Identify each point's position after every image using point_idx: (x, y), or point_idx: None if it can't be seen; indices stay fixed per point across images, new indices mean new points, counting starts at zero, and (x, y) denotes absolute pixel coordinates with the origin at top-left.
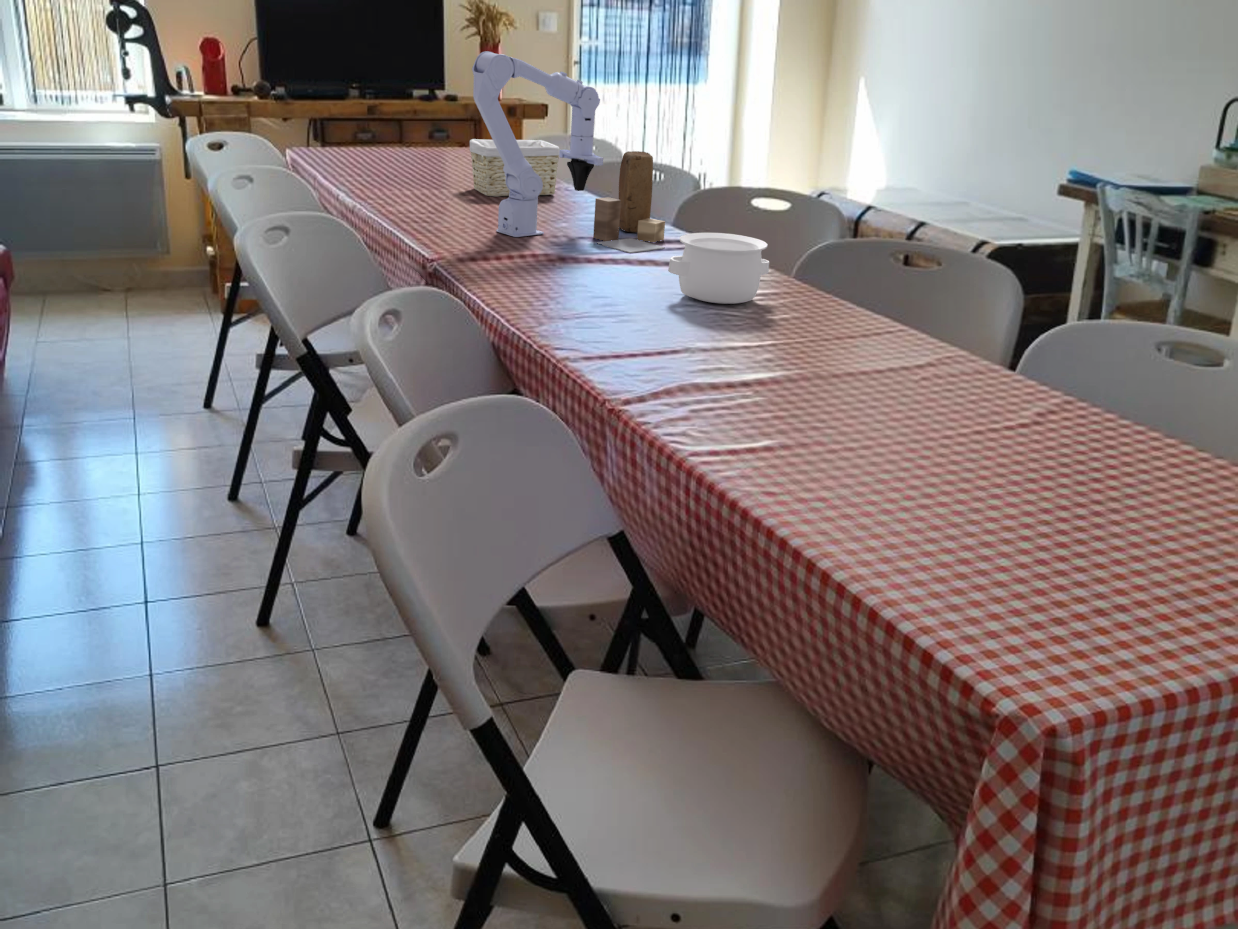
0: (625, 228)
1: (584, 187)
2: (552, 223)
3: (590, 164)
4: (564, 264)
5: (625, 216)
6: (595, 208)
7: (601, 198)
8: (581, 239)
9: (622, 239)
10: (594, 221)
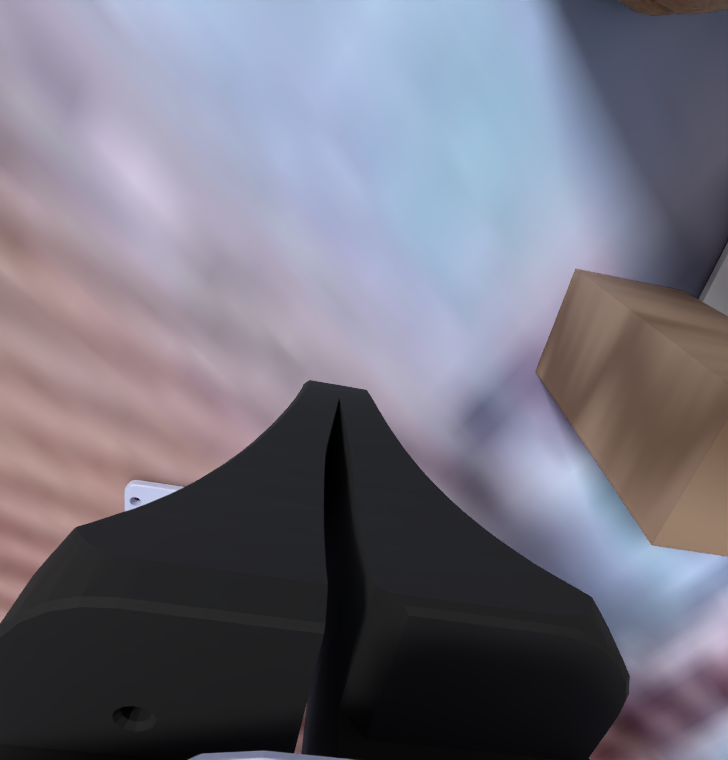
0: (651, 15)
1: (375, 405)
2: (61, 212)
3: (581, 758)
4: (667, 756)
5: (708, 11)
6: (615, 483)
7: (701, 507)
8: (502, 444)
9: (717, 288)
10: (573, 424)
